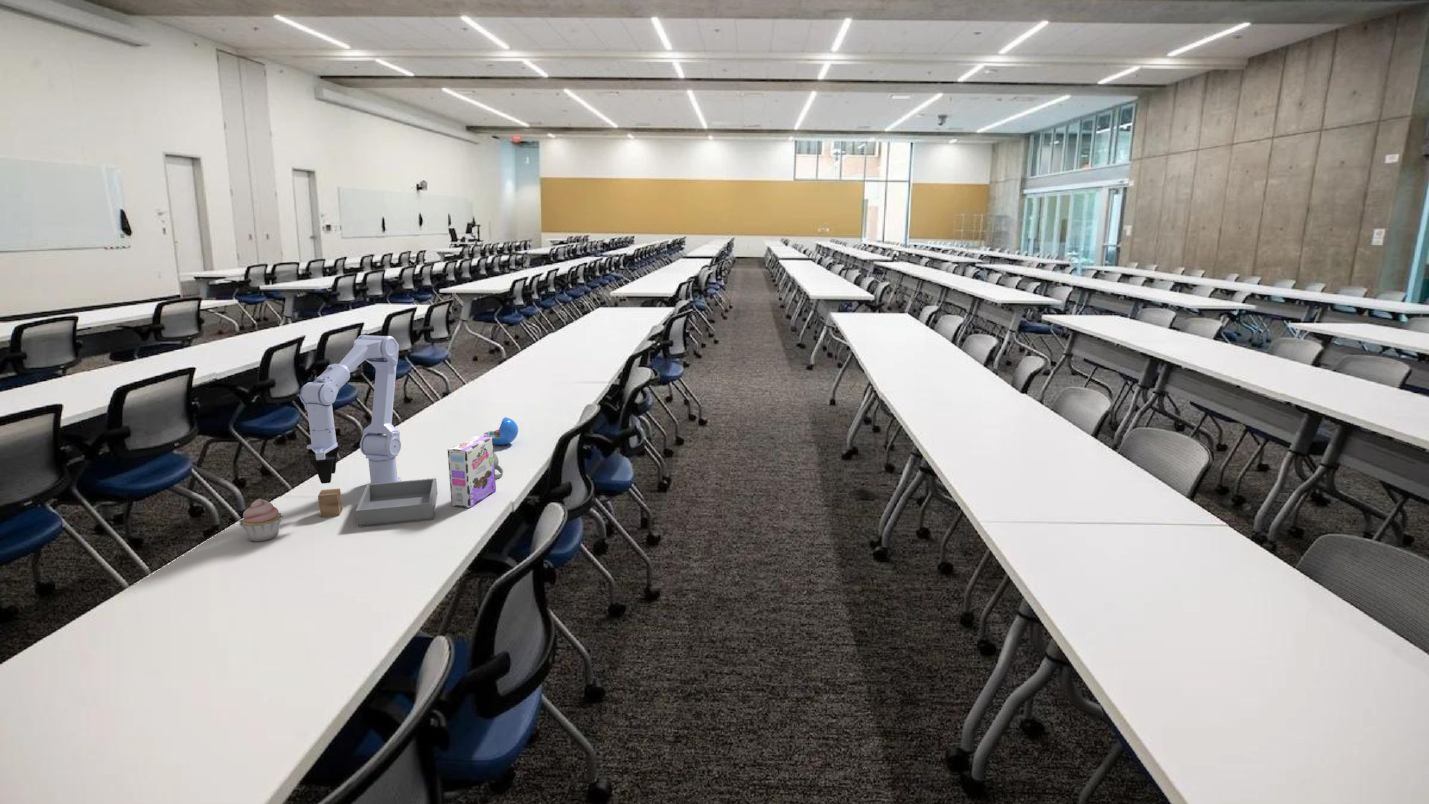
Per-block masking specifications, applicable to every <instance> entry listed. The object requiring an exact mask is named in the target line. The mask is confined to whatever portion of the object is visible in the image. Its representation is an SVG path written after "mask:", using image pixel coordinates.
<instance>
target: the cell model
mask: <svg viewBox="0 0 1429 804" xmlns="http://www.w3.org/2000/svg"><path fill="white" fill-rule="evenodd" d="M518 434H519V426H518V424H517V422H516V421H514V420H513V419H512V418H510V417H506V416H505V417H503V418H502V420H501V423H500V426H499V427H498V429H496V430H495V429H494V430H490V431H489V430H488V431H486V432H484V433H483V437H492V440H493V445H498V446H505V445H508V444H511V443H512V442H514V441H515V440H516V439H517V437H518Z"/></svg>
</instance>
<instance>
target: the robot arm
mask: <svg viewBox="0 0 1429 804" xmlns="http://www.w3.org/2000/svg"><path fill="white" fill-rule="evenodd" d="M399 349H400V344H399V343H398V341H397V340H396V338H394V337H393V336H391V335H370V334H369V335H368V334H361V335H359V336H358V337H357V338H356V339H355V340H353V347H352V348H351V349H350V350H349V351H348V353H346V355H345V356H344V357H343V359H342V360H340V362H339V363H332V364H329V365H327V367H326V369H325V370H324V371H323V372H322V373H321V374H319V376H317V377H316V379H315V380H313V381H310V382H307V383H306V384H304V385H303V386H302V387H301V389H300V394H299V395H298V396H299V399H300V401H301V403H302V404H303V406H304V410H305V411H306V412H307V417H308V419H307V420H308V427H309V435H310V442H311V443H310V444H307V445H306V450H312V452H314V454H315V456H312V457H310V458H309V462H310V465H312V466H313V468H314V469H315V471H316V473H317V476H318V478H319V481H320V483H321V484H322V485H323V484H330V483H331V482H332V476H333V475H332V474H335V473H336V470H337V469H336V467H337V459H338V455H339V454H338V453H339V451H340V448H341V445H340V444H338V442H337V435H336V427H335V420H334V411H333V410H334V409H333V404H334V403H335V401H336V400H337V396H338V393H339V391H340V389H341V388H342V387H344V385H345V384H347V382H348V381H349V380H351V379H350V378H351V372H353V371H354V370H355V369H356V368H357V367H358V366H360V365H361V364H362V363H363V362H365V361H366V362H367V363H369V364H370V365H371V366H372V367H374V369H375V376H374V377H375V378H374V389H373V400H372V401H373V402H372V412H371V413H372V414H371V423H370V424H369V425H367V426H366V427H365V428H364V429H363V430H362V431H363V433H362V437H361V439H360V442H359V448H360V452H361V453H362V454H363V455H365V459H367V461H368V468H369V479H370V484H375V483H386V482H398V481H402V477H401V476H398V466H397V459H396V457H398V455H399V453H400V451H401V448H402V441H401V438H400V436H401V435H400V434H401V433H400V431H399V430H398V428H396V427H395V426H394V425H393V424H392V423H393V415H394V413H393V412H394V411H393V410H394V402H395V401H394V399H395V389H396V388H395V387H396V374H397V365H398V360H399Z"/></svg>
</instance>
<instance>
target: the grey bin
mask: <svg viewBox="0 0 1429 804" xmlns="http://www.w3.org/2000/svg"><path fill="white" fill-rule="evenodd" d="M437 483H438V482H437V478H436V477H435V478H423V479H421V478H420V479H414V480H413V479H412V480H401V481H398V482H386V483H375V484H371V483H367V484H366V486H365V488H364V491H363V492H362V493H363V494H362V496H361V498H360V500H359V502H358V505H357V507H356V509H355V514H356V515H355V516H356V524H357V528H365V527H373V526H374V527H375V526H384V525H395V524H404V523H412V522H413V523H414V522H422V521H433V520H434V519H435V510H436V504H437V501H438V500H437V499H438V484H437Z"/></svg>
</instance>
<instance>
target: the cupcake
mask: <svg viewBox="0 0 1429 804" xmlns="http://www.w3.org/2000/svg"><path fill="white" fill-rule="evenodd" d="M283 517H284V516H283V513H282V512H280V511H279V509H278V508H277V507H275V506H274V505H273V503H272V502H270V501H268V500H265V499H262V498H258V499H256V500H254V501H253V502H252V503H251V505H250V506H249V507H248V508H246V509H245V510H244V511H243V513H242V518H243V519H241V520H239V524H238V525H239V526H240V527H241V529H243V530H244V532H245V535H246V536H247V539H248V540H249V541H251V542H264V541H269V540H272V539H275V537H277V536H278V535H279V532H280V524H281V522H282V520H283Z"/></svg>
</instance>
